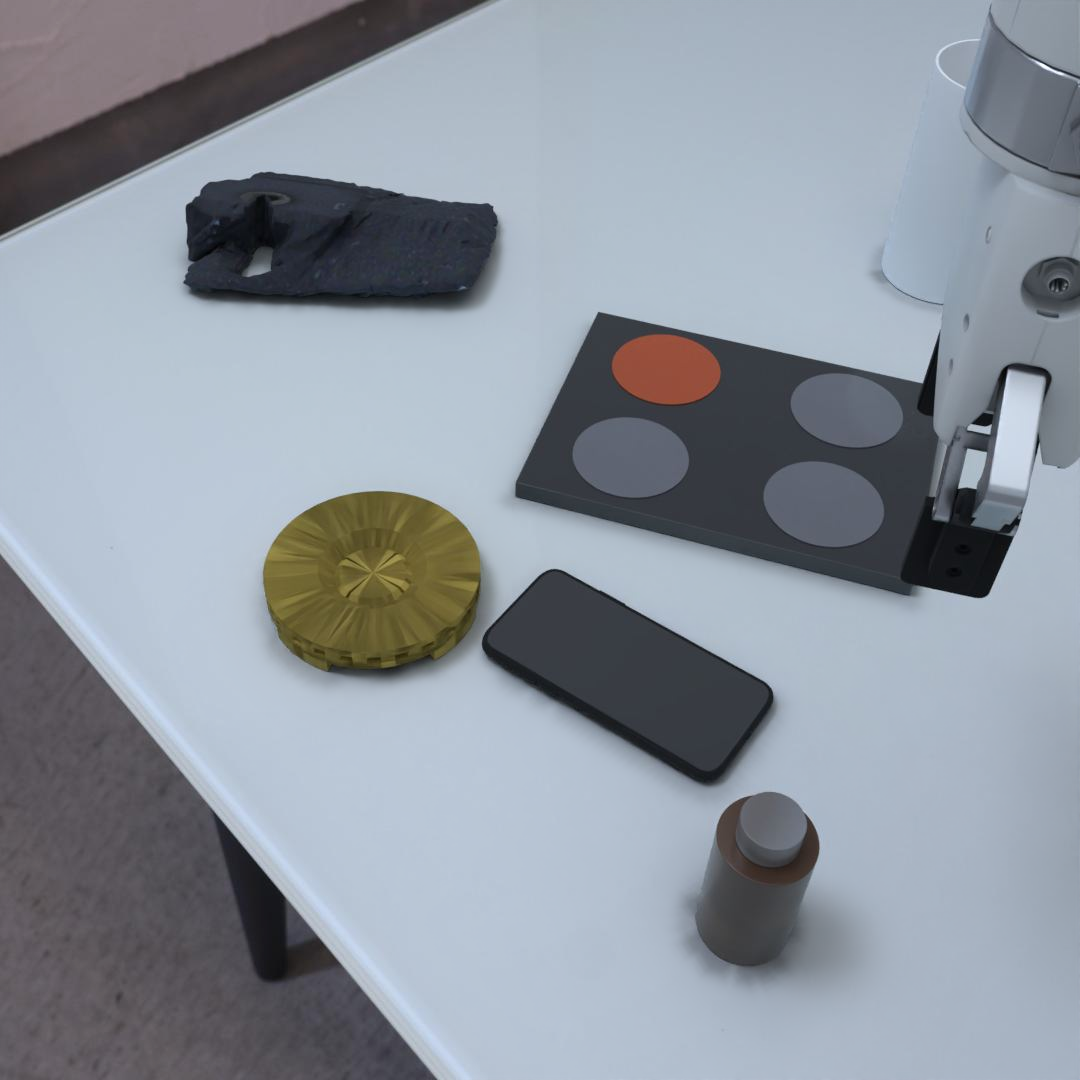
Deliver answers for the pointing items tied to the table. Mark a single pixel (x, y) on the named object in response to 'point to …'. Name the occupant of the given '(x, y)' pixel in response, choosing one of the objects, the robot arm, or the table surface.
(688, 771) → the smartphone
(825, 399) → the hob
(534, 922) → the table surface
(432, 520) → the gold round disc
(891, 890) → the table surface
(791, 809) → the pepper mill
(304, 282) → the dark slate chunk
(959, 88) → the cup
